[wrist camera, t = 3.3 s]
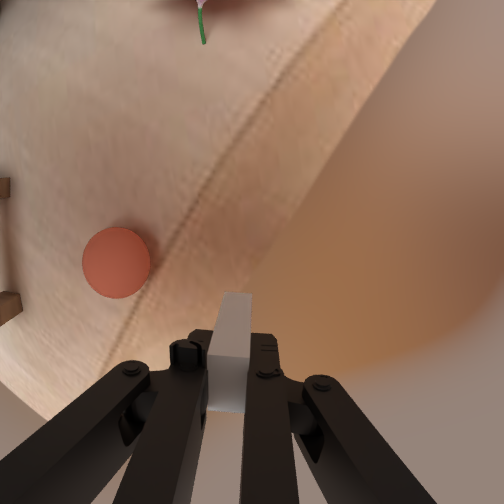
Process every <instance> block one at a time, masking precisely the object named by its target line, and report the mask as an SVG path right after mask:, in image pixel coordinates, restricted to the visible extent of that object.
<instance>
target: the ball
mask: <svg viewBox="0 0 504 504" xmlns="http://www.w3.org/2000/svg"><path fill="white" fill-rule="evenodd" d="M82 266H83V272H84V275H85V278H86V280H87V282H88V283H89V285H90V286H91V287H92V288H93V289H94V290H95V291H96V292H98V293H99V294H101V295H103V296H105V297H109V298H116V299H117V298H124V297H128V296H130V295H132V294H134V293H135V292H137V291H138V290H139V289H140V288H141V287H142V286H143V284H144V283H145V281H146V279H147V277H148V274H149V271H150V256H149V252H148V249H147V247H146V245H145V243H144V242H143V240H142V239H141V238H140V237H139V236H138V235H137V234H135V233H134V232H132V231H130V230H128V229H125V228H120V227H112V228H107V229H104V230H102V231H100V232H98V233H97V234H96V235H94V236H93V237H92V238H91V239H90V241H89V242H88V244H87V246H86V248H85V250H84V253H83V259H82Z"/></svg>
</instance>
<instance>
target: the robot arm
mask: <svg viewBox="0 0 504 504" xmlns="http://www.w3.org/2000/svg"><path fill="white" fill-rule="evenodd" d="M251 310H252V293H238V292H224V296H223V299H222V303H221V306H220V310H219V314H218V317H217V321H216V324H215V328H214V331H211V330H200V329H195V330H194V331H193V332H191V333H190V334H189V336H188V338H187V339H182V340H177V341H175V342H173V343H171V345H170V346H169V348H170V363H171V365H170V367H169V369H166V370H161V371H149V367H148V366H147V365H146V364H145V363H143V362H141V361H136V360H129V361H125V362H122V363H120V364H118V365H117V366H115V367H114V368H113V369H112V370H111V371H109V372H108V373H107V374H106V375H104V376H103V377H102V378H101V379H100V380H98V381H97V382H96V383H95V384H93V385H92V386H91V387H90V388H89V389H87V390H86V391H85V392H84V393H82V394H81V395H80V396H79V397H78V398H76V399H75V400H74V401H73V402H71V403H70V404H69V405H68V406H67V407H65V408H64V409H63V410H62V411H60V412H59V413H58V414H57V415H56V416H54V417H53V418H52V419H51V420H49V421H48V422H47V423H46V424H45V425H43V426H42V427H41V428H40V429H38V430H37V431H36V432H35V433H34V434H32V435H31V436H30V437H29V438H27V440H25V441H24V442H23V443H21V444H20V445H19V446H18V447H16V448H15V449H14V450H13V451H12V452H10V453H9V454H8V455H7V456H5V457H4V458H3V459H2V460H1V461H0V504H91V502H92V501H93V500H94V499H95V498H96V497H97V495H98V494H99V493H100V492H101V491H102V489H103V488H104V487H105V486H106V485H107V483H108V482H109V481H110V480H111V479H112V477H113V476H114V475H115V474H116V473H117V471H118V470H119V469H120V468H121V466H122V465H123V464H124V463H125V462H126V461H127V459H128V458H129V457H130V456H131V454H132V453H133V454H132V457H131V459H130V461H129V463H128V466H127V468H126V471H125V473H124V476H123V478H122V481H121V483H120V486H119V488H118V491H117V493H116V496H115V498H114V501H113V503H112V504H190V502H191V496H192V491H193V486H194V480H195V475H196V469H197V465H198V459H199V454H200V449H201V444H202V439H203V433H204V429H205V424H206V408H207V404H208V410H211V411H221V412H234V413H245V415H244V429H243V447H242V465H241V483H240V499H239V504H299V497H298V486H297V477H296V469H295V460H294V452H293V443H292V434H291V433H294V438H295V440H296V442H297V444H298V446H299V448H300V450H301V452H302V454H303V456H304V458H305V460H306V462H307V464H308V466H309V468H310V470H311V472H312V474H313V476H314V478H315V480H316V482H317V484H318V486H319V487H320V489H321V491H322V493H323V495H324V497H325V499H326V501H327V503H328V504H437V503H436V502H435V501H434V499H433V498H432V497H431V496H430V495H429V494H428V492H427V491H426V490H425V489H424V487H423V486H422V485H421V484H420V483H419V481H418V480H417V479H416V478H415V477H414V475H413V474H412V473H411V471H410V470H409V469H408V468H407V467H406V465H405V464H404V463H403V462H402V460H401V459H400V458H399V457H398V455H397V454H396V453H395V452H394V451H393V449H392V448H391V447H390V446H389V444H388V443H387V442H386V441H385V440H384V438H383V437H382V436H381V435H380V433H379V432H378V431H377V429H375V427H374V426H373V425H372V423H371V422H370V421H369V420H368V418H367V417H366V416H365V415H364V414H363V412H362V411H361V410H360V408H359V407H358V406H357V405H356V403H355V402H354V401H353V399H352V398H351V397H350V396H349V395H348V393H347V392H346V391H345V389H344V388H343V387H342V386H341V384H340V383H339V382H338V381H337V380H336V379H334V378H332V377H330V376H327V375H313V376H309V377H308V378H307V379H305V382H304V383H303V382H298V381H294V380H291V379H289V378H287V377H286V376H284V373H283V371H282V369H281V368H280V361H279V353H278V344H277V339H276V338H275V337H274V336H273V335H272V334H263V333H251Z"/></svg>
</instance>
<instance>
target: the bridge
mask: <svg viewBox="0 0 504 504" xmlns="http://www.w3.org/2000/svg"><path fill="white" fill-rule="evenodd" d="M6 197H10V178H0V198H6ZM22 311H23V309H22V304H21V299H20V294H15V293H10V292H5V291H3V292H1V293H0V326H2V325H3V324H5V323H6V322H8V321H9V320H11V319H12V318H13V317H15V316H16V315H18V314H19V313H21V312H22Z"/></svg>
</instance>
